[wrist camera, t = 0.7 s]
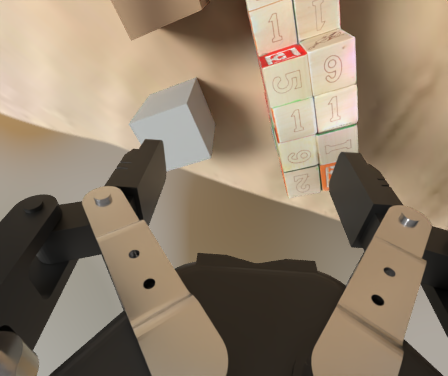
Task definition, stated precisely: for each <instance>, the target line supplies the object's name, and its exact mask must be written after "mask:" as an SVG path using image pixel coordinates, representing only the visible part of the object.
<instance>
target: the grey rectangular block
mask: <svg viewBox="0 0 448 376" xmlns="http://www.w3.org/2000/svg"><path fill="white" fill-rule="evenodd" d="M129 125H130V127H131V129H132V130H133V132H134V134H135V135H136V137H137V139H138V140H139V142H140V143H141V145H142V143H143V141H144V140H145V139H155V140H162V141H163V144H164V153H165V162H166V171H169V170H173V169H176V168H180V167H183V166H186V165H190V164H193V163H196V162H200V161H203V160H207V159H210V158H211V155H212V148H213V140H214V132H215V122H214V120H213V117H212V115H211V112H210V110H209V107H208V105H207V102H206V100H205V97H204V95H203V93H202V90H201V88H200V85H199V83H198V80H197V78H193V79H191V80H188V81H185V82H183V83H180V84H177V85H175V86H172V87H169V88H167V89H164V90H161V91H159V92H156V93H153V94H151V95H149V96H148V98H147V99H146V100H145V102H144V103H143V105H142V106H141V107H140V109H139V110H138V112H137V113H136V114H135V116H134V117H133V119H132V120H131V121H130V123H129Z"/></svg>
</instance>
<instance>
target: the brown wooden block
mask: <svg viewBox="0 0 448 376" xmlns="http://www.w3.org/2000/svg"><path fill="white" fill-rule="evenodd" d="M111 1H112V3H113V5H114V7H115V9H116V11H117V13H118V15H119V17H120V19H121V21H122V23H123V25H124V27H125V29H126V31H127V33H128V35H129V37H130V39H131V40H134V39H136V38H138V37H141V36H143V35H145V34H148V33H150V32H152V31H154V30H157V29H159V28H161V27H164V26H166V25H168V24H171V23H173V22H175V21H177V20H180V19H182V18H184V17H187V16H189V15H191V14H194V13H196V12H198V11H200V10H202V9H203V8H204V7H205V6H206V5H207V4H208V3H209V2H210V1H209V0H111Z"/></svg>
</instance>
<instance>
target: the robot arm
mask: <svg viewBox="0 0 448 376" xmlns="http://www.w3.org/2000/svg"><path fill="white" fill-rule="evenodd" d="M165 179H166V162H165V153H164V144H163V141H162V140H155V139H145V140H144V141H143V143H142V145H141V146H140V148H139V149H133V150H131V151H130V152H128V153H127V154H125V155H124V157H123V158H122V160H121V162H120V163H119V164H118V166H117V169H115V171H114V172H113V174H112V175H111V177H110V178H109V180H108V181H107V183H106V184H105V186H104V187H99V188H96V189H93V190H92V191H90V192H88V193H87V194H86V195H85V196H84V198H83V200H82V201H81V202H75V203H69V204H62V205H59V204H58V202H57V200H56V198H55V197H53V196H51V195H36V196H32V197H29V198H26V199H24V200H22V201H20V202H19V203H18V204H16V205H15V206H14V207H13V208H12V209H11V210H10V212H9V213H8V214H7V215H6V216H5V217H4V218H3V219H2V221H1V222H0V376H37V372H38V369H39V359H38V356H37V355H36V353H35V352H34V351H33V349H34V347H35V345H36V343H37V341H38V339H39V337H40V335H41V333H42V331H43V329H44V327H45V325H46V323H47V321H48V319H49V317H50V315H51V313H52V311H53V309H54V307H55V305H56V303H57V301H58V299H59V297H60V295H61V293H62V291H63V289H64V287H65V285H66V283H67V281H68V279H69V277H70V275H71V273H72V271H73V269H74V267H75V265H76V263H77V261H78V259H79V258H85V257H90V256H94V255H99V254H101V255H102V257H103V260H104V262H105V265H106V267H107V270H108V272H109V274H110V277H111V280H112V282H113V285H114V287H115V290H116V292H117V295H118V298H119V300H120V303H121V305H122V308H123V310H124V311H123V312H122V313H120V314H119V315H118V316H117V317H116V318H115V319H113V320H112V321H111V322H110V323H109V324H108V325H107V326H106V327H104V328H103V329H102V330H101V331H100V332H98V333H97V334H96V335H95V336H94V337H93V338H92V339H90V340H89V341H88V342H87V343H86V344H85V345H83V346H82V347H81V348H80V349H79V350H78V351H76V352H75V353H74V354H73V355H72V356H71V357H70V358H69V359H67V360H66V361H65V362H64V363H63V364H61V366H59V367H58V368H57V369H56V370H55V371H53V372H52V373H51V374H50V375H49V376H443V375H442V374H441V373H440V372H439V371H438V370H437V369H435V368H434V367H433V366H432V365H431V364H430V363H429V362H428V361H427V360H426V359H425V358H424V357H422V355H421V354H419V353H418V352H417V351H416V350H415V349H414V348H413V347H412V346H411V345H410V344H409V343H408V342H406V341H405V340H404V337H405V333H406V330H407V326H408V323H409V320H410V316H411V313H412V310H413V306H414V303H415V300H416V296H417V293H418V290H419V286H420V284H421V286H422V288H423V290H424V291H425V293H426V296H427V297H428V299H429V301H430V303H431V305H432V307H433V309H434V311H435V313H436V315H437V317H438V319H439V321H440V323H441V325H442V327H443V329H444V331H445V333H446V335H447V337H448V231H447V230H444V229H440V228H436V227H433V226H432V225H431V222H430V220H429V219H428V218H427V217H426V216H425V215H424V214H422V213H421V212H419V211H417V210H415V209H413V208H411V207H407V206H403V204H402V203H401V201H400V200H399V199H398V197H397V196H396V194H395V193H394V191H393V190H392V188H391V187H389V184H388V183H387V181H385V178H384V177H383V176H382V174H381V173H380V171H378V170H377V169H376V168H374V167H373V166H372V165H370V164H367V163H366V161H365V160H364V158H363V157H362V155H361V154H360V153H355V152H341V153H340V154H339V156H338V158H337V161H336V164H335V167H334V170H333V173H332V175H331V178H330V182H329V192H330V195H331V197H332V200H333V202H334V205H335V207H336V210H337V212H338V215H339V218H340V220H341V223H342V225H343V228H344V230H345V232H346V235H347V237H348V240H349V243H350V245H351V247H356V248H363V249H364V253H363V255H362V257H361V258H360V260H359V262H358V264H357V266H356V268H355V269H354V271H353V273H352V275H351V277H350V278H349V280H348V282H347V284H346V286H345V285H344V284H343V283H341V282H340V281H338V280H337V279H335V278H333V277H331V276H329V275H327V274H325V273H322V272H320V271H317V267H316V264H315V261H306V260H305V261H304V260H291V259H284V260H278V261H271V262H265V263H252V262H249V261H245V260H242V259H238V258H235V257H231V256H228V255H219V254H204V253H198V255H197V261H196V262H192V263H188V264H185V265H182V266H180V267H177V268H175V269H174V267H173V266H172V264H171V263H170V261H169V259H168V258H167V256H166V254H165V253H164V251H163V250H162V248H161V246H160V245H159V243H158V241H157V240H156V238H155V236H154V235H153V233H152V232H151V230H150V228H149V227H148V226H149V223H150V221H151V218H152V215H153V213H154V210H155V207H156V205H157V202H158V199H159V197H160V194H161V191H162V189H163V186H164V183H165Z"/></svg>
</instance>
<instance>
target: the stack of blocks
mask: <svg viewBox="0 0 448 376" xmlns="http://www.w3.org/2000/svg"><path fill="white" fill-rule="evenodd" d="M245 1H246V8H247V12H248V17H249V22H250V26H251V31H252V35H253V40H254V43H255V48H256V53H257V57H258V62H259V67H260V72H261V76H262V81H263V86H264V90H265V98H266V103H267V108H268V113H269V120H270V125H271V130H272V135H273V139H274V144H275V148H276V149H277V153H278V158H279V162H280V167H281V171H282V175H283V178H284V183H285V187H286V191H287V195H288V198H293V197H298V196H303V195H309V194H314V193H320V192H321V190H322V191H329V182H330V178H331V175H332V173H333V170H334V167H335V164H336V161H337V158H338V156H339V154H340V153H341V152H355V153H358V127H357V124H356V123H357V121H358V91H357V85H356V80H357V74H356V44H355V40H356V39H355V37H354V36H352V35H350V34H349V33H347V32H345V31H344V30H342V29H341V20H340V0H245Z"/></svg>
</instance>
